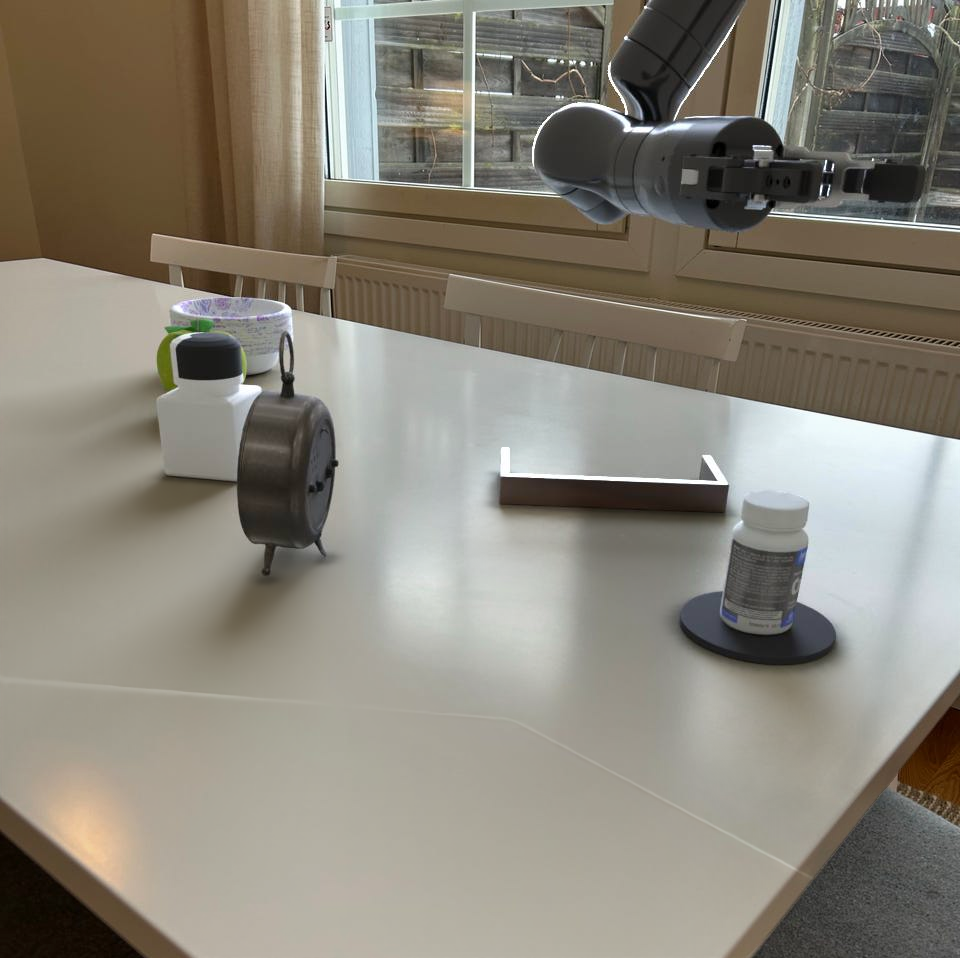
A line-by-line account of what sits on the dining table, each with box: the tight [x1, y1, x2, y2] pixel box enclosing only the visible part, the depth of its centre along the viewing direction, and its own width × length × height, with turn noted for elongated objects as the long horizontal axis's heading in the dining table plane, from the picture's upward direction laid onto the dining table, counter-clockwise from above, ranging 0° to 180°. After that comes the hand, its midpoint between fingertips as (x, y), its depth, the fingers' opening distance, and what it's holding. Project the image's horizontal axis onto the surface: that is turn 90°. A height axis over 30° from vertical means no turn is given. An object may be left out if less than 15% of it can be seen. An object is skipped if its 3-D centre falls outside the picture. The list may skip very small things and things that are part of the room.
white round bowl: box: [169, 296, 294, 376], centre depth 127 cm, size 15×15×8 cm
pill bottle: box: [720, 489, 810, 635], centre depth 63 cm, size 5×5×8 cm
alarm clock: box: [236, 331, 339, 577], centre depth 70 cm, size 11×5×16 cm, turn 174°
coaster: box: [679, 590, 837, 666], centre depth 65 cm, size 10×10×1 cm
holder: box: [498, 447, 730, 513], centre depth 88 cm, size 9×20×2 cm, turn 89°
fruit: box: [156, 319, 247, 393], centre depth 107 cm, size 9×9×10 cm
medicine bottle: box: [155, 332, 263, 482], centre depth 89 cm, size 7×7×12 cm
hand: (869, 184), depth 60 cm, fingers open, 8 cm apart
